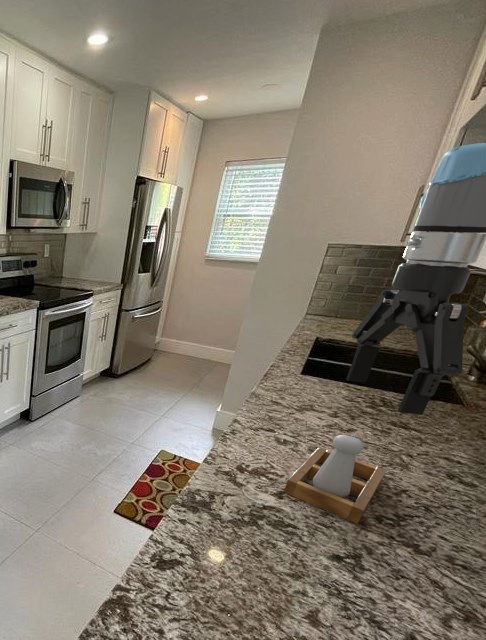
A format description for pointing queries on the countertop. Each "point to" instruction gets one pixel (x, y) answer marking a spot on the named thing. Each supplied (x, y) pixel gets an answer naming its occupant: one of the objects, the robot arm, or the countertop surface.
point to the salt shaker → (339, 467)
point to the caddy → (329, 500)
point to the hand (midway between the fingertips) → (380, 395)
